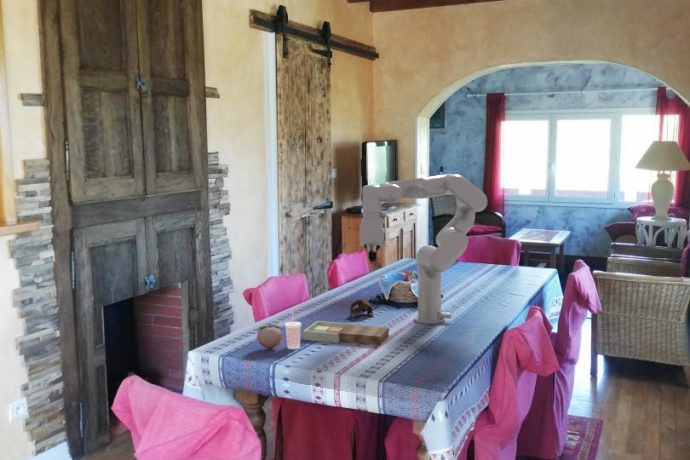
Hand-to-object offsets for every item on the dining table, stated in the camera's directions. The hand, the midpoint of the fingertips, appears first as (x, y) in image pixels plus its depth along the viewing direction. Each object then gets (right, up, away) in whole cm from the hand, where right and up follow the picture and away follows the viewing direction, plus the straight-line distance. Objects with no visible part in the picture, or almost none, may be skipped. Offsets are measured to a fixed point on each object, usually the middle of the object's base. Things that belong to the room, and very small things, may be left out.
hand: (372, 261), depth 274 cm
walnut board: (-4, -29, -14) cm, 33 cm away
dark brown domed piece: (-4, -25, +21) cm, 32 cm away
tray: (-18, -29, -9) cm, 35 cm away
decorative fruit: (-38, -32, -24) cm, 55 cm away
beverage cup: (-30, -31, -22) cm, 49 cm away
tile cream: (-20, -26, -8) cm, 34 cm away
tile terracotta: (-15, -29, -10) cm, 34 cm away
